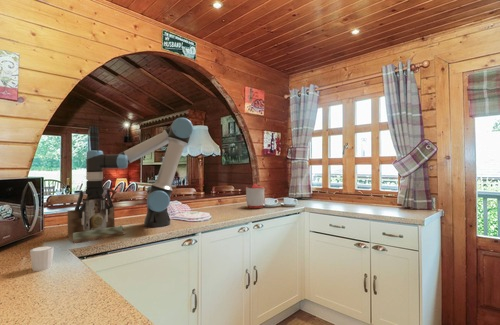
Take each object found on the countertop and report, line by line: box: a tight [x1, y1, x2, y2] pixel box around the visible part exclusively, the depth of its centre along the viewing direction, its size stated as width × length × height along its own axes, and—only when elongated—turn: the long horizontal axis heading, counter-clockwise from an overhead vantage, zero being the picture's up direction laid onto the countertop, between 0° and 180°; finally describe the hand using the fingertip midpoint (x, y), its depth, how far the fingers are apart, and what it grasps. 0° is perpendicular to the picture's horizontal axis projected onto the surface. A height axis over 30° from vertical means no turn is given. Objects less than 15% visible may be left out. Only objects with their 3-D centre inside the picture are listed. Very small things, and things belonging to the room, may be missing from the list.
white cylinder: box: [29, 245, 55, 272], centre depth 99 cm, size 7×7×7 cm
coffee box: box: [82, 197, 107, 231], centre depth 144 cm, size 9×6×16 cm
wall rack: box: [66, 205, 125, 244], centre depth 143 cm, size 22×18×13 cm
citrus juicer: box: [245, 183, 265, 210], centre depth 228 cm, size 16×17×20 cm
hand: (94, 222), depth 144 cm, fingers closed on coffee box, 10 cm apart
